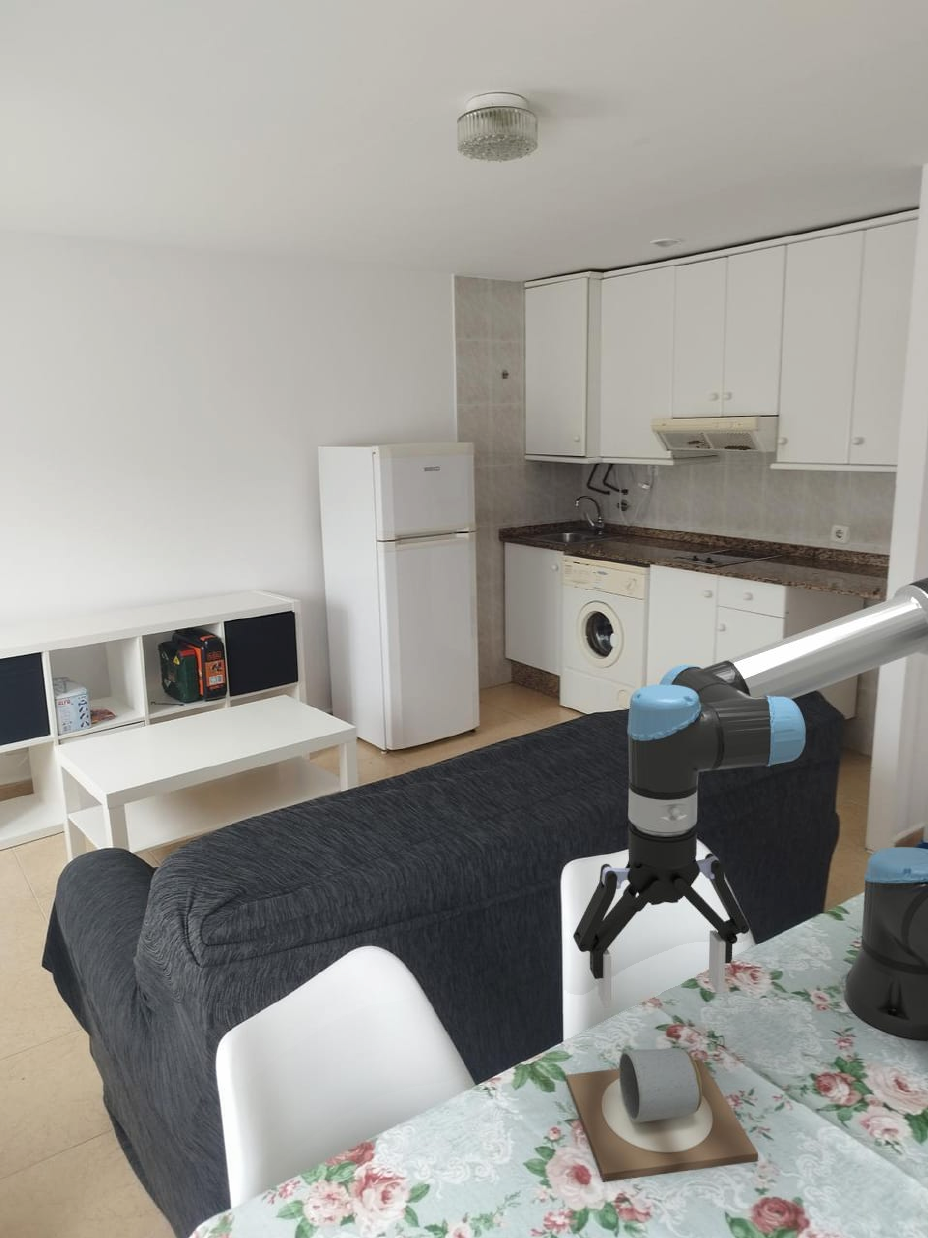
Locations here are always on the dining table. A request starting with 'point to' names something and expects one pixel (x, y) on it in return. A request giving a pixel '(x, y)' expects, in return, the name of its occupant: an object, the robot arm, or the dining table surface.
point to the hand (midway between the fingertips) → (660, 994)
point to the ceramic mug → (659, 1084)
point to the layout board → (656, 1130)
